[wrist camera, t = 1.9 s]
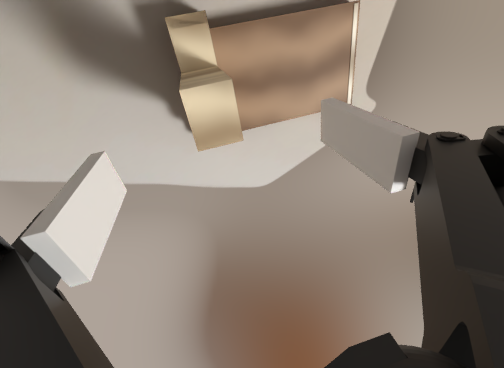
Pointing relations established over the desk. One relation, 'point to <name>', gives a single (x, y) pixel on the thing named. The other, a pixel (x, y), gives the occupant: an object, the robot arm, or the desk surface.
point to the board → (289, 62)
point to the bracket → (204, 83)
